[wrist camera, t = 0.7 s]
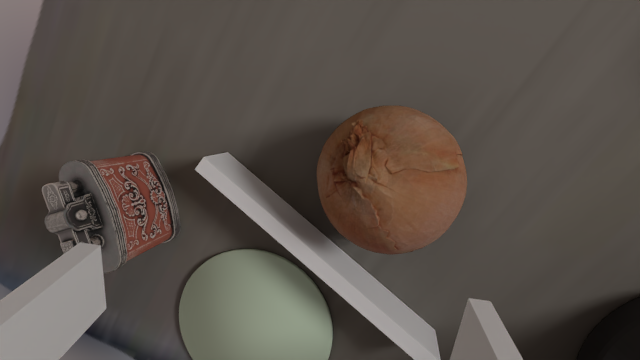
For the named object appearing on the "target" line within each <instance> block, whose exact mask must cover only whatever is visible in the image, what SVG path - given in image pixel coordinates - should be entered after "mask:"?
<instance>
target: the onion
mask: <svg viewBox="0 0 640 360" xmlns="http://www.w3.org/2000/svg"><path fill="white" fill-rule="evenodd" d="M462 155H463V154H462V152H461V150H460V147H459V145H458V143H457V142H456V140H455V138H454V137H453V136H452V135H451V134H450V133H449V132H448V131H447V130H446V129H445V128H444V127H443V126H442V125H441V124H440V123H439V122H437V121H436V120H435V119H433V118H432V117H430V116H428V115H426V114H424V113H422V112H420V111H418V110H415V109H412V108H409V107H403V106H379V107H373V108H369V109H365V110H363V111H361V112H359V113H357V114H355V115H353V116H352V117H350V118H349V119H347V120H346V121H344V122H343V123H342V124H341V125H339V126H338V127H337V128H336V130H335V131H334V132H333V133H332V134H331V136H330V137H329V138H328V139H327V141H326V143H325V144H324V146H323V149H322V151H321V154H320V157H319V160H318V164H317V184H318V191H319V197H320V200H321V204H322V207H323V209H324V211H325V213H326V215H327V217H328V218H329V220H330V222H331V223H332V225H333V226H334V227H335V228H336V229H337V231H338V232H339V233H340V234H342V235H343V236H344V237H345V238H346V239H348V240H349V241H351V242H353V243H354V244H355V245H357V246H359V247H361V248H364V249H366V250H369V251H372V252H376V253H383V254H401V253H407V252H412V251H413V250H417V249H421V248H423V247H425V246H427V245H428V244H430V243H432V242H434V241H435V240H436V239H438V238H439V237H440V236H441V235H442V234H443V233H444V232H445V231H446V230H447V229H448V228H449V227H450V225H451V224H452V222H453V221H454V220H455V218H456V217H457V215H458V213H459V211H460V209H461V207H462V205H463V202H464V199H465V196H466V189H467V175H466V167H465V166H464V161H463V158H462Z"/></svg>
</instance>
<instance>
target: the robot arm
mask: <svg viewBox="0 0 640 360" xmlns="http://www.w3.org/2000/svg"><path fill="white" fill-rule="evenodd" d="M105 310H106V299H105V288H104V277H103V265H102V254H101V245H94V244H87V243H78V244H77V245H76V246H74V247H73V248H71V249H70V250H69V251H67V252H66V253H65V254H63V255H62V256H60V257H59V258H58V259H56V260H55V261H54V262H52V263H51V264H49V265H48V266H47V267H45V268H44V269H43V270H41V271H40V272H38V273H37V274H36V275H34V276H33V277H32V278H30V279H29V280H27V281H26V282H25V283H23V284H22V285H21V286H19V287H18V288H16V289H15V290H14V291H12V292H11V293H10V294H8V295H7V296H5V297H4V298H3V299H2V300H0V360H59V359H60V358H61V357H62V356H63V355H64V354H65V353H66V352H67V351H68V349H69V348H70V347H71V346H72V345H73V344H74V343H75V342H76V341H77V340H78V339H79V338H80V336H81V335H82V334H83V333H84V332H85V331H86V330H87V329H88V328H89V327H90V326H91V325H92V324H93V322H94V321H95V320H96V319H97V318H98V317H99V316H100V315H101V314H102V313H103V312H104V311H105ZM450 360H523V358H522V357H521V355H520V353H519V351H518V350H517V348H516V346H515V344H514V342H513V341H512V339H511V337H510V335H509V333H508V332H507V330H506V328H505V326H504V325H503V323H502V321H501V319H500V317H499V316H498V314H497V312H496V310H495V309H494V307H493V305H492V303H491V301H485V300H478V299H471V298H468V301H467V304H466V308H465V311H464V314H463V318H462V321H461V324H460V327H459V331H458V334H457V337H456V341H455V344H454V347H453V350H452V354H451V357H450ZM577 360H640V297H639V298H637V299H634V300H632V301H630V302H628V303H626V304H625V305H623V306H621V307H619V308H618V309H616V310H615V311H613V312H612V313H611V314H609V315H608V316H607V317H606V318H604V319H603V320H602V321H601V322H600V323H599V324H598V325H597V326H596V327H595V328H594V330H593V331H592V332H591V333H590V335H589V336H588V337H587V339H586V340H585V342H584V344H583V345H582V348H581V350H580V352H579V354H578V357H577Z"/></svg>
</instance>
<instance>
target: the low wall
mask: <svg viewBox="0 0 640 360" xmlns="http://www.w3.org/2000/svg"><path fill="white" fill-rule="evenodd" d="M195 170H196V171H197V172H198V173H199V174H200V175H202V176H203V177H204V178H205V179H206V180H207V181H209V182H210V183H211V184H212V185H213V186H214V187H215V188H217V189H218V190H219V191H220V192H221V193H222V194H224V195H225V196H226V197H227V198H228V199H229V200H230V201H232V202H233V203H234V204H235V205H236V206H237V207H239V208H240V209H241V210H242V211H243V212H244V213H246V214H247V215H248V216H249V217H250V218H251V219H252V220H254V221H255V222H256V223H257V224H258V225H259V226H261V227H262V228H263V229H264V230H265V231H266V232H267V233H269V234H270V235H271V236H272V237H273V238H274V239H276V240H277V241H278V242H279V243H280V244H281V245H282V246H284V247H285V248H286V249H287V250H288V251H289V252H291V253H292V254H293V255H294V256H295V257H296V258H297V259H299V260H300V261H301V262H302V263H303V264H304V265H306V266H307V267H308V268H309V269H310V270H311V271H312V272H314V273H315V274H316V275H317V276H318V277H319V278H321V279H322V280H323V281H324V282H325V283H326V284H327V285H329V286H330V287H331V288H332V289H333V290H334V291H336V292H337V293H338V294H339V295H340V296H341V297H342V298H344V299H345V300H346V301H347V302H348V303H349V304H351V305H352V306H353V307H354V308H355V309H356V310H357V311H359V312H360V313H361V314H362V315H363V316H364V317H366V318H367V319H368V320H369V321H370V322H371V323H372V324H374V325H375V326H376V327H377V328H378V329H379V330H381V331H382V332H383V333H384V334H385V335H386V336H387V337H389V338H390V339H391V340H392V341H393V342H394V343H396V344H397V345H398V346H399V347H400V348H401V349H403V350H404V351H405V352H406V353H407V354H408V355H409V356H411V357H412V358H413V359H414V360H441V359H440V353H439V348H438V342H437V337H436V332H435V330H434V329H433V328H432V327H431V326H430V325H429V324H427V323H426V322H425V321H424V320H423V319H422V318H420V317H419V316H418V315H417V314H416V313H415V312H413V311H412V310H411V309H410V308H409V307H408V306H406V305H405V304H404V303H403V302H402V301H401V300H399V299H398V298H397V297H396V296H395V295H394V294H393V293H391V292H390V291H389V290H388V289H387V288H386V287H384V286H383V285H382V284H381V283H380V282H379V281H377V280H376V279H375V278H374V277H373V276H372V275H370V274H369V273H368V272H367V271H366V270H365V269H363V268H362V267H361V266H360V265H359V264H358V263H356V262H355V261H354V260H353V259H352V258H351V257H349V256H348V255H347V254H346V253H345V252H344V251H342V250H341V249H340V248H339V247H338V246H337V245H335V244H334V243H333V242H332V241H331V240H330V239H328V238H327V237H326V236H325V235H324V234H323V233H321V232H320V231H319V230H318V229H317V228H316V227H314V226H313V225H312V224H311V223H310V222H309V221H307V220H306V219H305V218H304V217H303V216H302V215H300V214H299V213H298V212H297V211H296V210H295V209H293V208H292V207H291V206H290V205H289V204H288V203H286V202H285V201H284V200H283V199H282V198H281V197H279V196H278V195H277V194H276V193H275V192H274V191H272V190H271V189H270V188H269V187H268V186H267V185H265V184H264V183H263V182H262V181H261V180H260V179H259V178H257V177H256V176H255V175H254V174H253V173H252V172H250V171H249V170H248V169H247V168H246V167H245V166H243V165H242V164H241V163H240V162H239V161H238V160H236V159H235V158H234V157H233V156H232V155H231V154H229V153H228V152H226V153H221V154H216V155H211V156H206V157H203V159H202V160H201V161H200V163H199V164H198V166H197V167H196V168H195Z"/></svg>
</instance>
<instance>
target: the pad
mask: <svg viewBox="0 0 640 360" xmlns="http://www.w3.org/2000/svg"><path fill="white" fill-rule="evenodd" d="M179 324H180V330H181V334H182V338H183V341H184V343H185V346H186V348H187V350H188V352H189V354H190V356H191V357H192V359H193V360H328V358H329V355H330V351H331V347H332V340H333V325H332V319H331V314H330V311H329V308H328V305H327V303H326V301H325V298H324V296H323V295H322V293H321V291H320V290H319V288H318V286H317V285H316V284H315V283H314V281H313V280H312V279H311V278H310V277H309V276H308V275H307V274H306V273H305V272H304V271H303V270H302V269H301V268H299V267H298V266H297V265H295V264H294V263H292V262H291V261H289V260H287V259H286V258H284V257H281V256H279V255H277V254H275V253H271V252H268V251H265V250H259V249H247V248H243V249H234V250H230V251H226V252H223V253H221V254H218V255H216V256H214V257H212V258H211V259H209V260H207V261H206V262H205V263H204V264H202V265H201V266H200V267H199V268H198V269H197V270H196V271H195V272H194V273H193V274H192V276H191V277H190V279H189V280H188V282H187V283H186V286H185V288H184V290H183V293H182V296H181V300H180V306H179Z"/></svg>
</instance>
